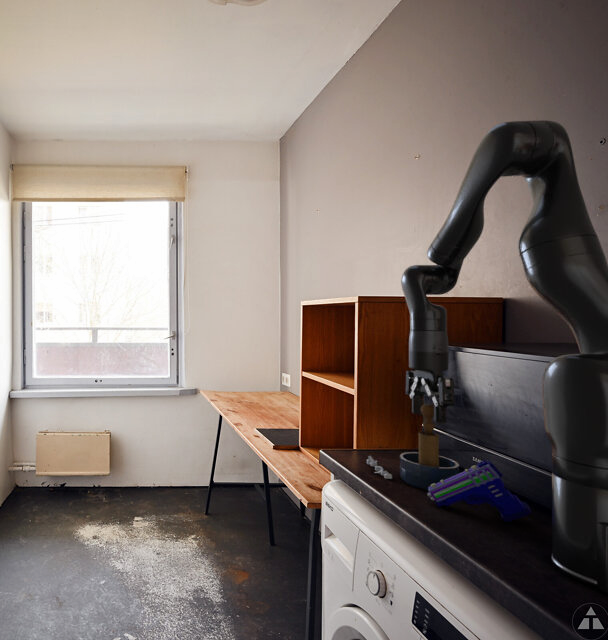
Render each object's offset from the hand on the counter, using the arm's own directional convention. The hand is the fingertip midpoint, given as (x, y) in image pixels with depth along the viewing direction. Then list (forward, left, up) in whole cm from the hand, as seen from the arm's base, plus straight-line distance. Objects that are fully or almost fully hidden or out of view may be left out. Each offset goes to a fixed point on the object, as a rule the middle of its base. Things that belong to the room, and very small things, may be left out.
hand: (428, 418), depth 97 cm
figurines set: (+8, +8, -15) cm, 19 cm away
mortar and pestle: (0, 0, -15) cm, 15 cm away
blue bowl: (0, 0, -15) cm, 15 cm away
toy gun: (-15, 0, -15) cm, 22 cm away
